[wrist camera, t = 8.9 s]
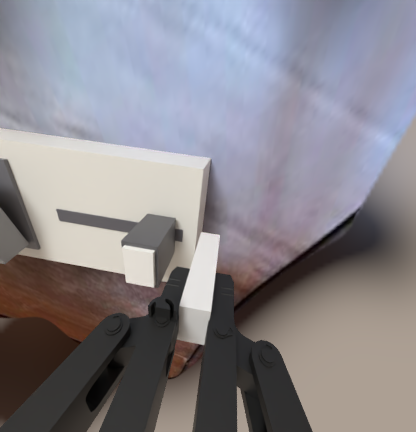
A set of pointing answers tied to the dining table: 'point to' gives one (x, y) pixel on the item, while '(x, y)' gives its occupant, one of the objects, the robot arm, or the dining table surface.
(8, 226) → the grey rocker
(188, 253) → the panel
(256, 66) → the dining table surface
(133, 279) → the slider knob
